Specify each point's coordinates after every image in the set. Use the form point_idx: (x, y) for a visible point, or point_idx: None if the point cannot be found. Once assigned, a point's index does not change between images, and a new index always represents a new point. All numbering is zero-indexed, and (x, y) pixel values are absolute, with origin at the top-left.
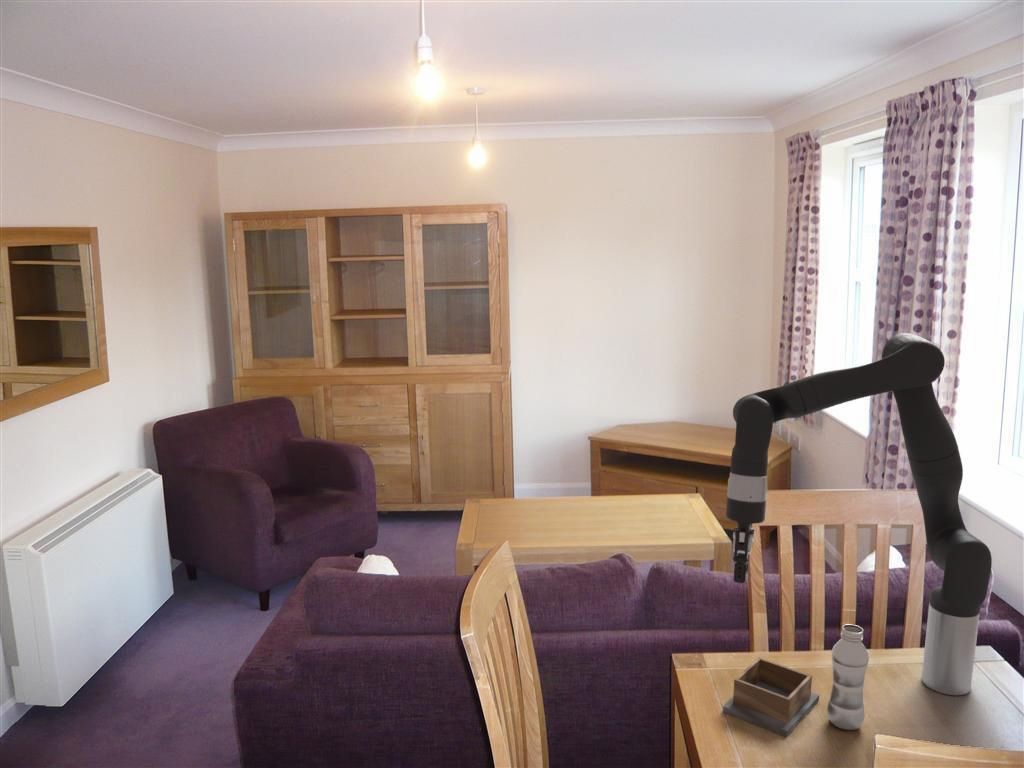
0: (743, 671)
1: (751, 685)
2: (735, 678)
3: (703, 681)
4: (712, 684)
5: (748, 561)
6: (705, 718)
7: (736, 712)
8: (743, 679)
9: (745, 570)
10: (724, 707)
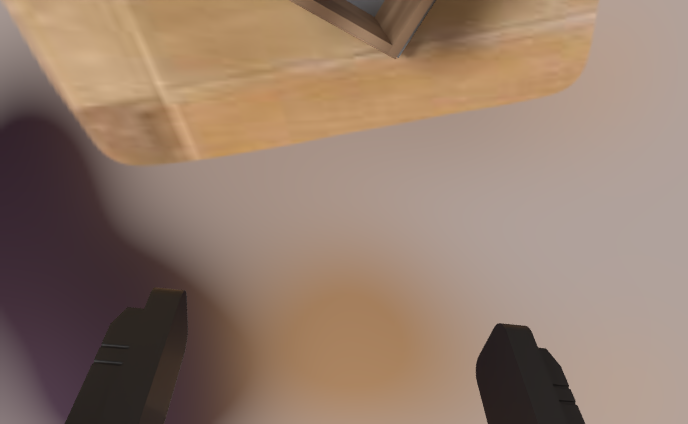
0: (337, 26)
1: (430, 2)
2: (389, 55)
3: (247, 103)
4: (256, 78)
5: (142, 360)
6: (427, 94)
7: (421, 19)
8: (355, 19)
9: (561, 413)
10: (400, 53)
